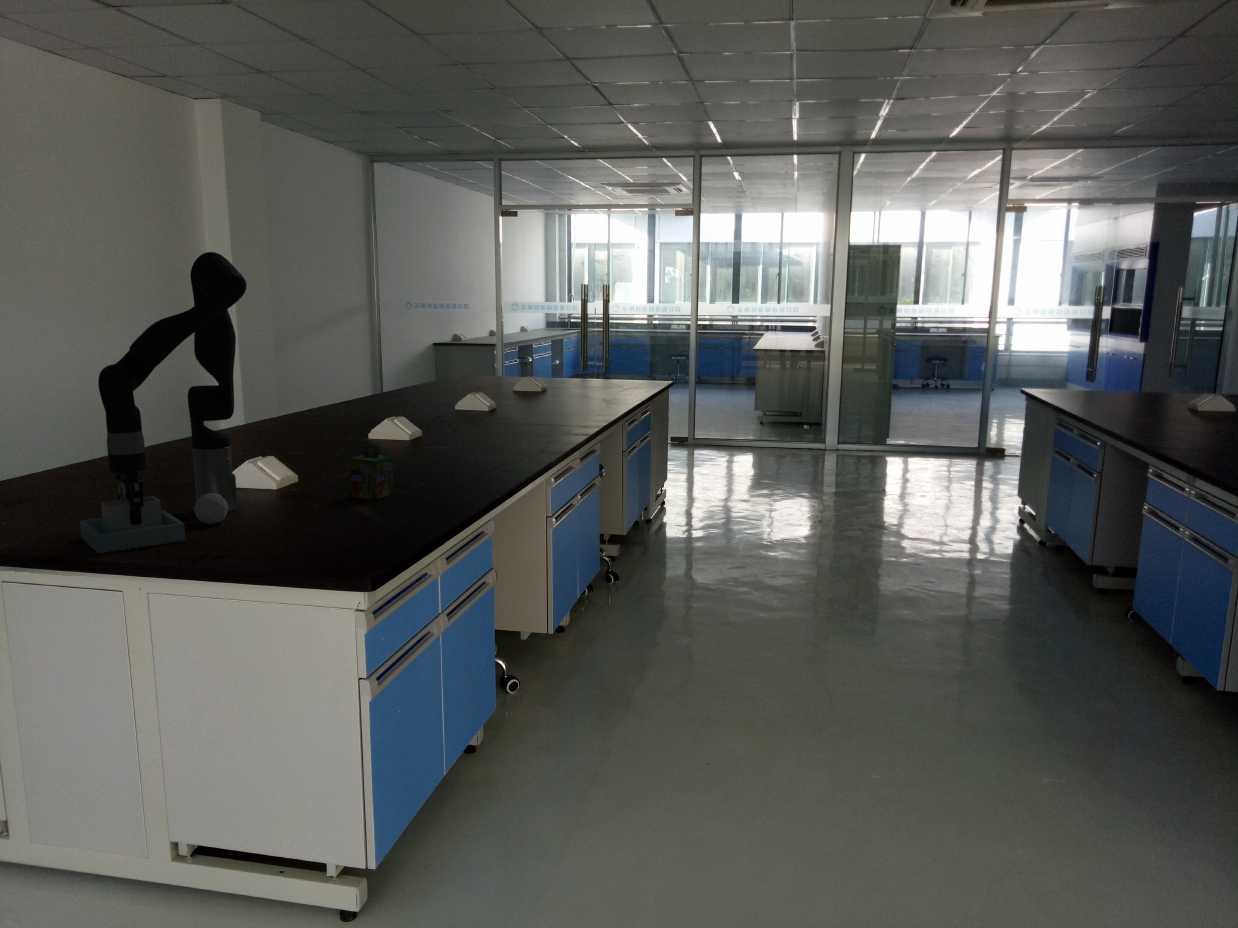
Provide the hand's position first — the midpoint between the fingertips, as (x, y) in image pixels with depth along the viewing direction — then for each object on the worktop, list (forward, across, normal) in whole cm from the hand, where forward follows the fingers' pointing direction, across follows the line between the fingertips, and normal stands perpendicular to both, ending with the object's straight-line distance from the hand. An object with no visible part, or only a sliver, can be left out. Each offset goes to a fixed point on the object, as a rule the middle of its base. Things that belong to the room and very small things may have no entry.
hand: (132, 521), depth 207 cm
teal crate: (+5, 0, 0) cm, 5 cm away
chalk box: (+5, +8, -64) cm, 65 cm away
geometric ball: (+4, +5, -19) cm, 20 cm away
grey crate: (+1, 0, 0) cm, 1 cm away
